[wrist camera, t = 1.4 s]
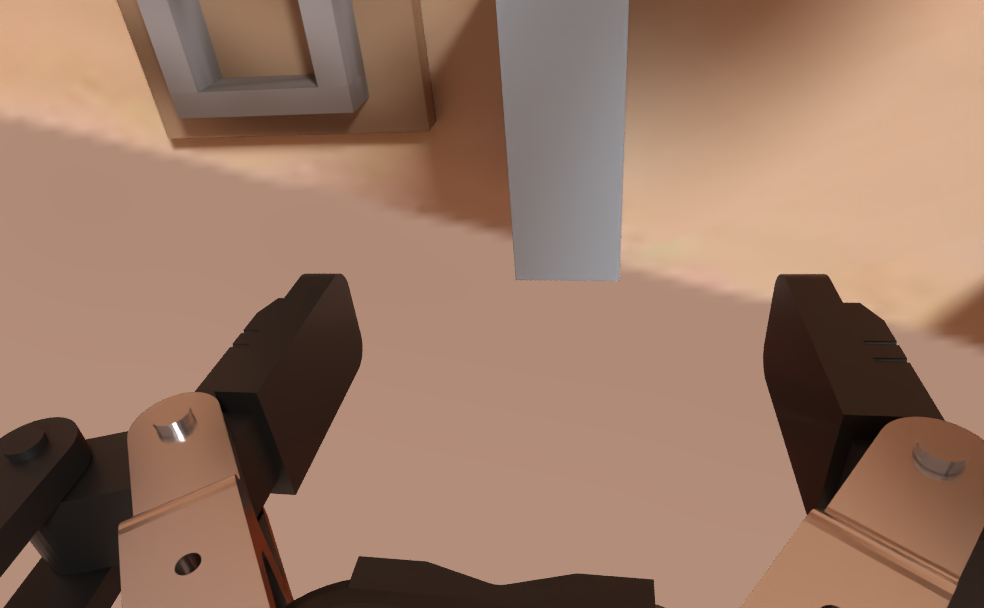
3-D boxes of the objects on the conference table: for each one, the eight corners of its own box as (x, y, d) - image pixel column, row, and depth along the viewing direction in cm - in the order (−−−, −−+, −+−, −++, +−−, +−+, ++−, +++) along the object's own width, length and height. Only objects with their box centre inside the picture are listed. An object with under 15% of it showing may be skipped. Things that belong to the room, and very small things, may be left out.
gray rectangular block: (526, -76, 23) (492, -50, 17) (625, -84, 22) (631, -60, 16) (537, 184, 29) (515, 279, 22) (618, 183, 28) (619, 280, 22)
